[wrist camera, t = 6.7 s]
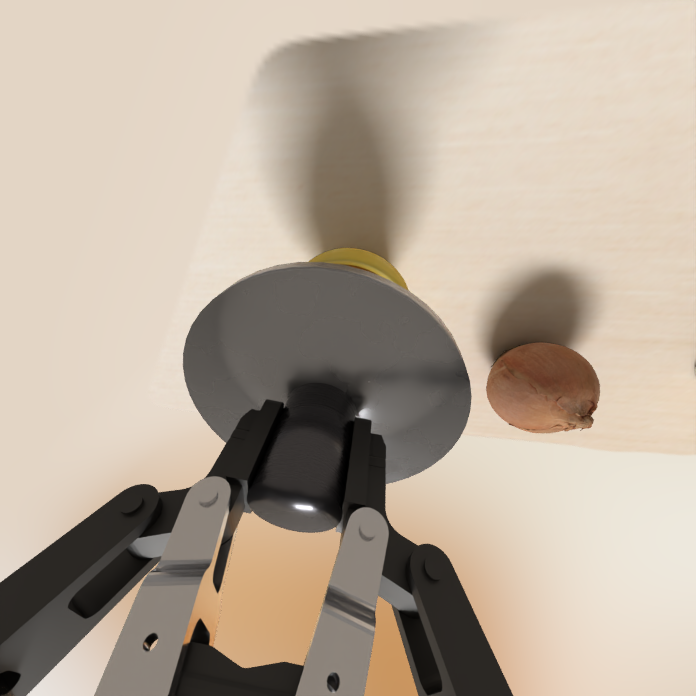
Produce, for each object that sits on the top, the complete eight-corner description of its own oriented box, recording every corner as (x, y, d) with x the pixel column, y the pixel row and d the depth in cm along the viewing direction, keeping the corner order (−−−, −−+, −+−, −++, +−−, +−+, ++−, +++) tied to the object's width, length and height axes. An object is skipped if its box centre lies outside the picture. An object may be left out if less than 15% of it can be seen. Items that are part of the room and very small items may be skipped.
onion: (547, 344, 33) (643, 403, 25) (488, 399, 36) (560, 468, 28) (517, 308, 28) (627, 368, 20) (450, 375, 30) (526, 452, 23)
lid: (524, 300, 10) (637, 417, 5) (416, 489, 17) (426, 605, 13) (169, 230, 10) (-11, 287, 6) (213, 447, 17) (152, 547, 13)
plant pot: (312, 220, 26) (275, 246, 18) (420, 238, 26) (432, 273, 18) (307, 316, 32) (277, 367, 24) (395, 332, 32) (395, 390, 24)
